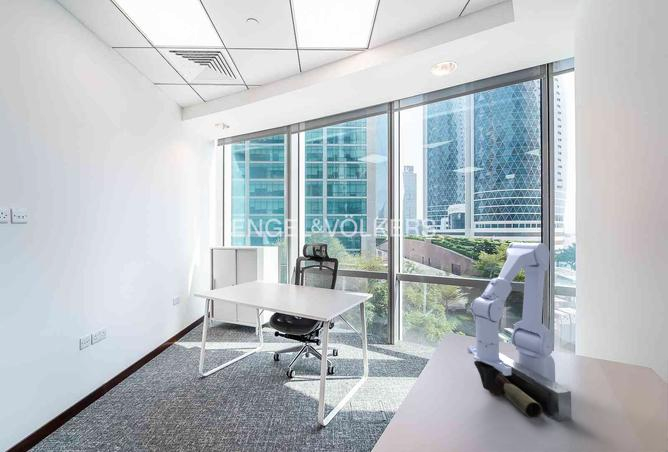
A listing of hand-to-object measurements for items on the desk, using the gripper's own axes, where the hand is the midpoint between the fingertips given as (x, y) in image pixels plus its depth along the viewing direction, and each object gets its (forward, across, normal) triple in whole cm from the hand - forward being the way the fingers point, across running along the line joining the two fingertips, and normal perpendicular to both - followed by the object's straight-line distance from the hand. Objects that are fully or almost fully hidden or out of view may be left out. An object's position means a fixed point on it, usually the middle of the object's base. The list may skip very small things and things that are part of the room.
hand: (488, 388), depth 80 cm
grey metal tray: (+3, 0, +12) cm, 13 cm away
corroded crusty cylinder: (+3, +1, +6) cm, 6 cm away
